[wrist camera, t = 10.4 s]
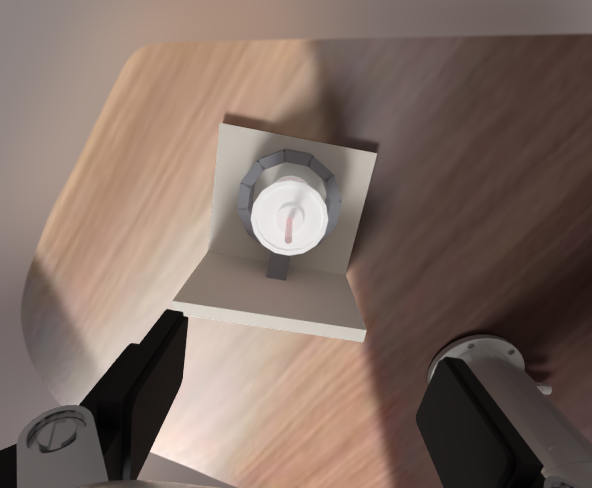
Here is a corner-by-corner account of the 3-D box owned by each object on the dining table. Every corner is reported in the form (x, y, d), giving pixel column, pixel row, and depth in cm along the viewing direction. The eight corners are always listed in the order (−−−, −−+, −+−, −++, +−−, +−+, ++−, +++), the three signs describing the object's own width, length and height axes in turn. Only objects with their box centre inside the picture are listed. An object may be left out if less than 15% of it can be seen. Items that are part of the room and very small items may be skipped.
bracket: (374, 152, 32) (418, 162, 21) (341, 279, 37) (363, 342, 26) (222, 123, 31) (183, 116, 20) (209, 257, 36) (171, 313, 25)
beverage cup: (290, 236, 34) (287, 300, 21) (249, 196, 33) (219, 239, 19) (331, 198, 33) (356, 241, 20) (291, 155, 31) (289, 170, 18)
